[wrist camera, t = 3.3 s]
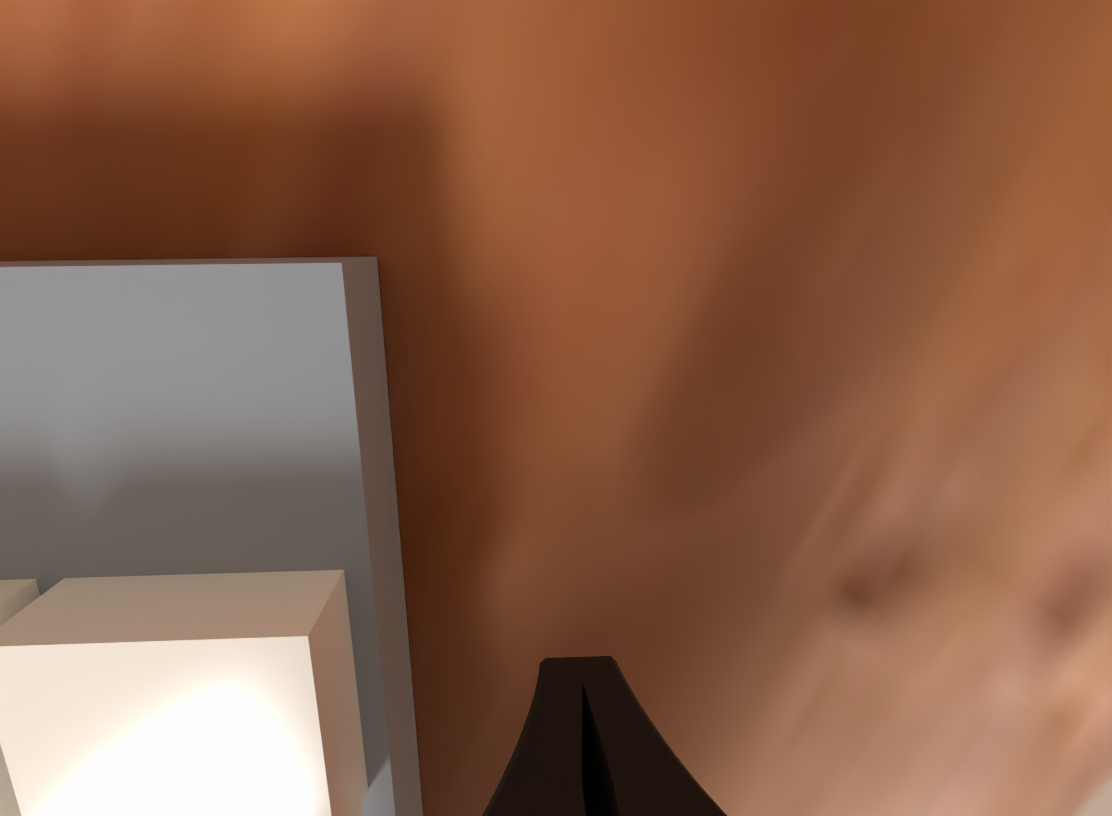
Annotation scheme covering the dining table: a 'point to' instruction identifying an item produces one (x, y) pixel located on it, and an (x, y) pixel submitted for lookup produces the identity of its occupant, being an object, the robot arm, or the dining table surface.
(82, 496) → the board
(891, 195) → the dining table surface
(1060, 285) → the dining table surface
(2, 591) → the tile
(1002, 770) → the dining table surface
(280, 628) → the tile
